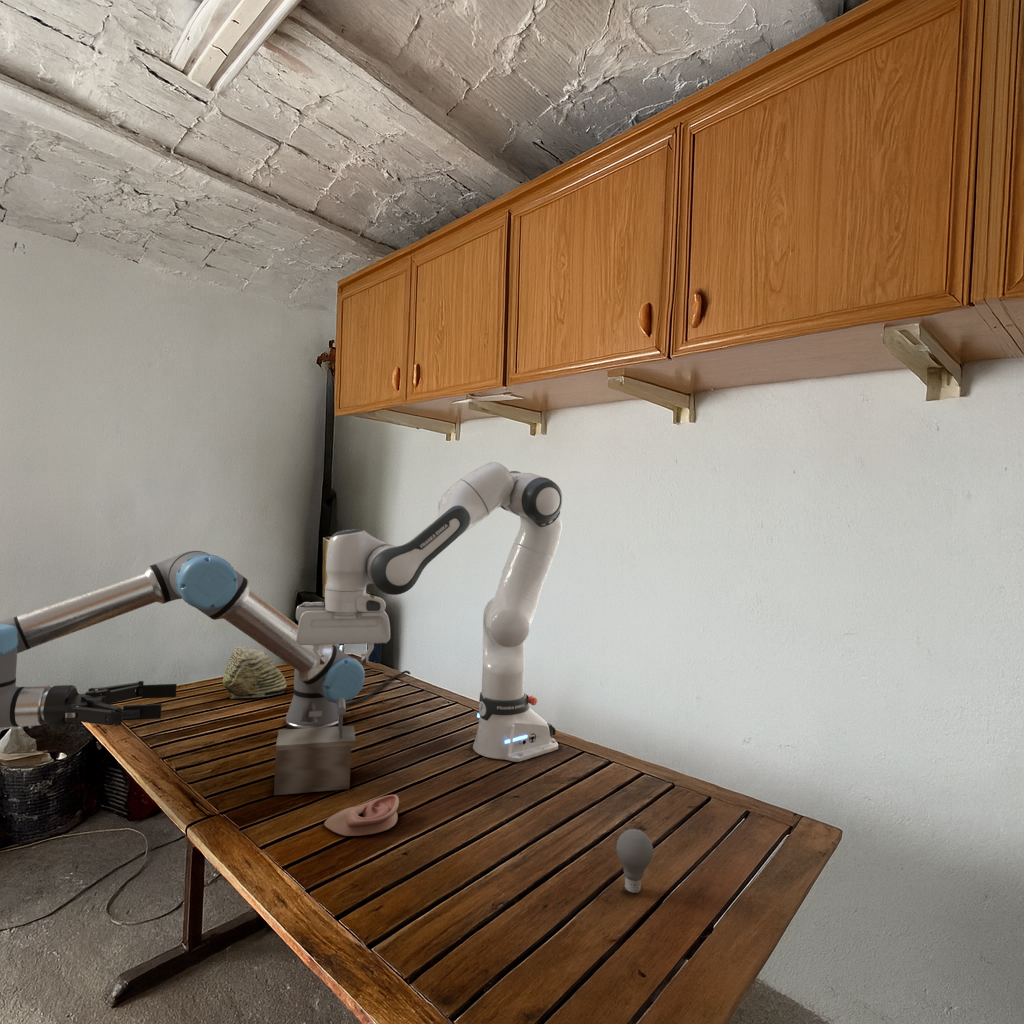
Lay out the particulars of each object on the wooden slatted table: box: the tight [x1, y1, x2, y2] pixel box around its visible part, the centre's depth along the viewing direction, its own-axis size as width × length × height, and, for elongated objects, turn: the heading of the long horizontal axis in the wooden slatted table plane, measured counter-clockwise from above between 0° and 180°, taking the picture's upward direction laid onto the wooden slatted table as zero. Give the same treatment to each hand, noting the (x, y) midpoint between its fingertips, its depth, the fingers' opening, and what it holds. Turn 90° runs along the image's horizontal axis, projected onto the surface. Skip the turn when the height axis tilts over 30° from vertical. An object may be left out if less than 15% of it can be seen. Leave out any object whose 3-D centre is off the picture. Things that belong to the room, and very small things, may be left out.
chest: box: [273, 746, 352, 796], centre depth 140 cm, size 16×9×9 cm, turn 107°
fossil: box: [222, 646, 288, 699], centre depth 198 cm, size 9×18×15 cm, turn 132°
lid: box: [275, 698, 356, 752], centre depth 140 cm, size 16×9×8 cm, turn 107°
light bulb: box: [615, 828, 654, 894], centre depth 106 cm, size 6×6×10 cm
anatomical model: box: [323, 794, 400, 837], centre depth 124 cm, size 13×4×12 cm
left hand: (169, 700), depth 131 cm, fingers open, 13 cm apart
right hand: (343, 663), depth 141 cm, fingers open, 8 cm apart
